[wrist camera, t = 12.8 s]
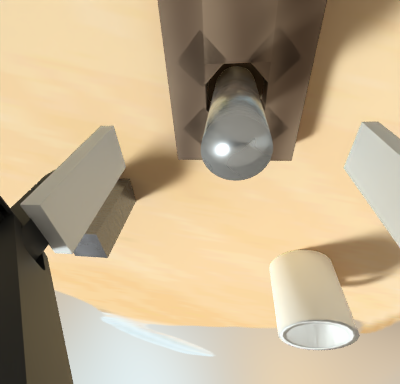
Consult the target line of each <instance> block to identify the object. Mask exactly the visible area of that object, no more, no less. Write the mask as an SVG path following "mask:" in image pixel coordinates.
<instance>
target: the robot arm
mask: <svg viewBox="0 0 400 384" xmlns="http://www.w3.org/2000/svg"><path fill="white" fill-rule="evenodd" d="M125 168H126V165H125V162H124V159H123V155H122V152H121V149H120V146H119V142H118V139H117V136H116V132H115V129H114V126H100V127H99V128H98V129H97V130H96V131H95V132H94V133H93V134H92V135H91V136H90V137H89V138H88V139H87V140H86V141H85V142H84V143H83V144H82V145H81V146H80V147H79V148H77V149H76V150H75V151H74V152H73V153H72V154H71V155H70V156H69V157H68V158H67V159H66V160H65V161H64V162H63V163H62V164H61V165H60V166H59V167H58V168H57V169H56V170H54V171H52V172H51V173H49V174H47V175H45V176H44V177H43V178H42V179H41V180H40V181H39V182H38V183H37V184H36V185H35V186H34V187H32V188H31V190H29V191H28V192H27V193H26V194H25V195H24V196H23V197H22V198H21V199H20V200H19V201H18V202H17V203H16V204H14V205H13V206H12V207H11V208H9V206H8V205H7V204H6V203H5V201H4V200H3V199H2V197H1V196H0V384H73V380H72V375H71V370H70V365H69V360H68V355H67V351H66V346H65V341H64V336H63V331H62V326H61V321H60V317H59V311H58V307H57V302H56V297H55V292H54V287H53V282H52V277H51V273H50V268H49V263H48V258H47V256H46V254H45V253H44V250H45V248H46V247H47V246H48V244H49V245H50V247H51V248H52V249H53V251H54V252H55V253H64V254H72V253H73V252H74V250H75V249H76V247H77V245H78V244H79V242H80V241H81V239H82V237H83V236H84V234H85V232H86V231H87V229H88V228H89V226H90V224H91V223H92V221H93V220H94V218H95V216H96V215H97V213H98V211H99V210H100V208H101V207H102V205H103V203H104V202H105V200H106V199H107V197H108V195H109V194H110V192H111V190H112V189H113V187H114V186H115V184H116V182H117V181H118V179H119V178H120V176H121V174H122V173H123V171H124V169H125ZM344 169H345V171H346V172H347V174H348V175H349V176H350V178H351V179H352V181H353V182H354V184H355V185H356V186H357V188H358V189H359V191H360V192H361V193H362V195H363V196H364V198H365V199H366V201H367V202H368V203H369V205H370V206H371V208H372V209H373V211H374V212H375V213H376V215H377V216H378V218H379V219H380V221H381V222H382V223H383V225H384V226H385V228H386V229H387V230H388V232H389V233H390V235H391V236H392V238H393V239H394V240H395V242H396V243H397V245H398V246H399V248H400V139H399V138H398V137H397V136H396V135H394V134H393V133H392V132H391V131H389V130H388V129H387V128H386V127H384V126H383V125H382V124H380V123H379V122H362V123H361V125H360V128H359V130H358V133H357V136H356V138H355V141H354V143H353V146H352V148H351V151H350V153H349V156H348V158H347V161H346V163H345V166H344Z"/></svg>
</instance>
